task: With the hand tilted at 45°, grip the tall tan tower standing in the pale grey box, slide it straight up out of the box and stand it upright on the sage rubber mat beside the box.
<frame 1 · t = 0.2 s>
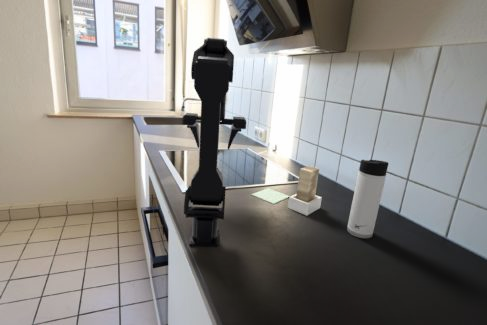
hand: (213, 148, 89), 15 cm above the worktop, tool pointing down, fingers open, 9 cm apart
holder box: (304, 207, 87), on the worktop
tall tan tower: (303, 207, 87), resting in holder box
mat: (270, 196, 94), on the worktop
travel mug: (359, 233, 75), on the worktop
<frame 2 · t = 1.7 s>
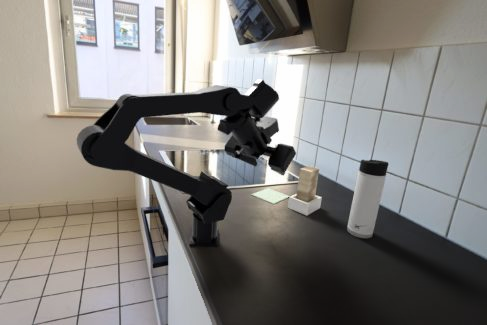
hand: (269, 169, 77), 14 cm above the worktop, tool tilted 45°, fingers open, 9 cm apart
nothing on the worktop moved.
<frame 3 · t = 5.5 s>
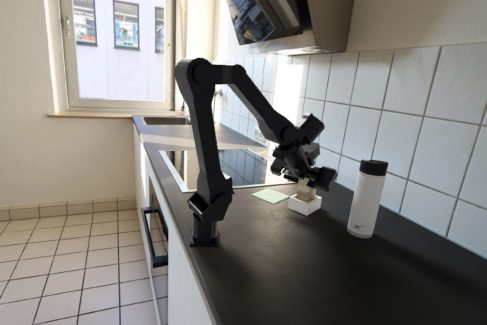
hand: (309, 186, 87), 7 cm above the worktop, tool tilted 45°, fingers closed on tall tan tower, 3 cm apart
tall tan tower: (304, 207, 87), resting in holder box, touching gripper
everything else where it was.
when the fingers open (8 cm above the worktop, at t = 12.2 s): tall tan tower stays where it is, resting on mat.
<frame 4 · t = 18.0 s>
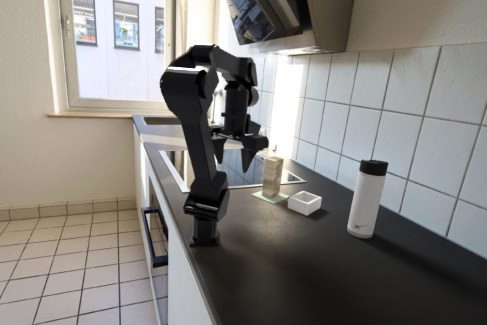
hand: (232, 168, 77), 13 cm above the worktop, tool pointing down, fingers open, 9 cm apart
tall tan tower: (270, 195, 94), resting on mat
everything else where it was.
at the end: tall tan tower 0.0 cm from the mat (horizontally); tall tan tower tilted 0°; the gripper is holding nothing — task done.
